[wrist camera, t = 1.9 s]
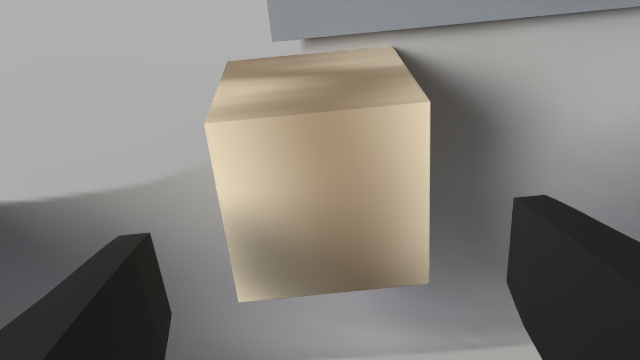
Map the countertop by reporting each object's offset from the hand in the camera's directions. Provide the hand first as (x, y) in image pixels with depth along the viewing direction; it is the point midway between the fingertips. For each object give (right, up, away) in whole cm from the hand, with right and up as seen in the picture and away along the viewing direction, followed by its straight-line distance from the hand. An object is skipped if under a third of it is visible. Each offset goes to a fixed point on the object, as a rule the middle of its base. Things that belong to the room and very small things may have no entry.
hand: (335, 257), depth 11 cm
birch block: (0, +3, +6) cm, 7 cm away
